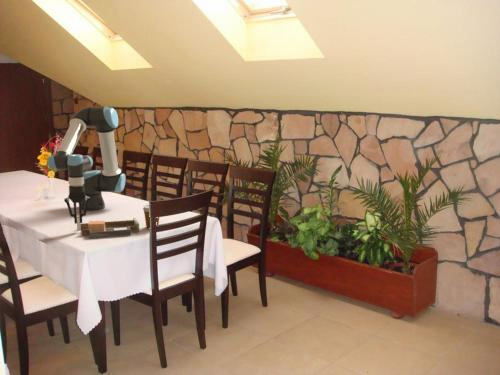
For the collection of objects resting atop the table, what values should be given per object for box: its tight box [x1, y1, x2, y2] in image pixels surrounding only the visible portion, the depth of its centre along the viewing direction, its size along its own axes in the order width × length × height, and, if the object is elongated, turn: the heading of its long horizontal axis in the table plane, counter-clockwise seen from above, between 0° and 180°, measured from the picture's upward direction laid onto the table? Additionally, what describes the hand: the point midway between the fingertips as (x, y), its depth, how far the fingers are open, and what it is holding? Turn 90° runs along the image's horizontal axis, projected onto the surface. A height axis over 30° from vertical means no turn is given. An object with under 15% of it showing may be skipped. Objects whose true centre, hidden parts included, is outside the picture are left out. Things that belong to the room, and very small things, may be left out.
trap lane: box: [80, 217, 140, 239], centre depth 274 cm, size 19×29×4 cm, turn 110°
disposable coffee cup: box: [142, 204, 160, 230], centre depth 282 cm, size 10×10×12 cm
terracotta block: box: [87, 220, 106, 232], centre depth 274 cm, size 6×8×5 cm
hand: (78, 229), depth 271 cm, fingers closed
